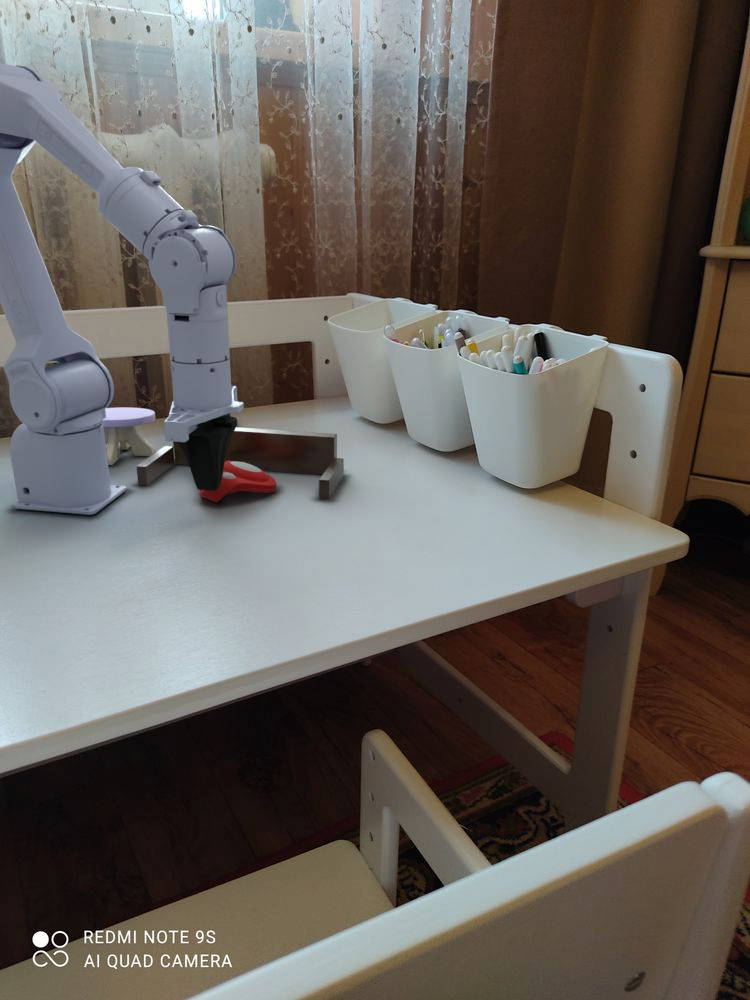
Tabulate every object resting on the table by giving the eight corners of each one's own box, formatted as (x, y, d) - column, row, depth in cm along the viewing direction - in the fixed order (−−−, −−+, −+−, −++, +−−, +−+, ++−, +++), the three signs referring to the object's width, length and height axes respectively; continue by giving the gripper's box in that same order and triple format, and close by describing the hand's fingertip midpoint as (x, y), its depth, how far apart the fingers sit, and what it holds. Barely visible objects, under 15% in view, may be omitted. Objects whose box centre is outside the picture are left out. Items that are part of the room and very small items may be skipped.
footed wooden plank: (138, 485, 92) (133, 445, 90) (171, 459, 101) (168, 422, 99) (329, 499, 88) (328, 458, 87) (346, 472, 97) (346, 434, 95)
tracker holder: (292, 473, 93) (255, 481, 84) (281, 507, 94) (244, 518, 85) (206, 439, 96) (161, 443, 86) (197, 472, 97) (152, 480, 87)
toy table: (169, 447, 106) (166, 406, 103) (139, 468, 97) (134, 425, 95) (104, 442, 107) (99, 402, 105) (68, 463, 99) (62, 419, 97)
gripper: (212, 376, 68) (220, 517, 73) (262, 346, 81) (266, 468, 86) (137, 372, 69) (150, 511, 74) (198, 343, 82) (206, 463, 88)
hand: (208, 488), depth 80 cm, fingers closed
